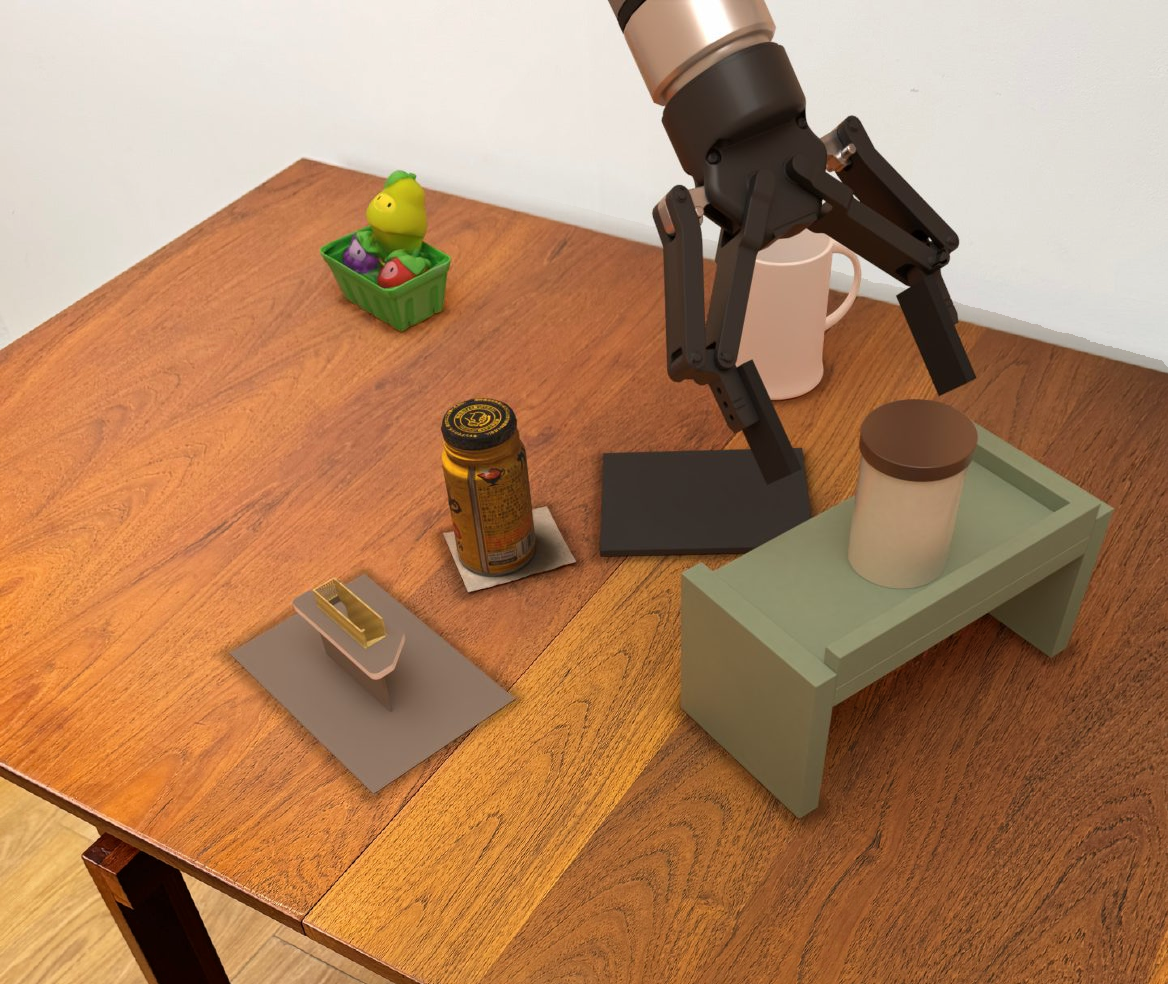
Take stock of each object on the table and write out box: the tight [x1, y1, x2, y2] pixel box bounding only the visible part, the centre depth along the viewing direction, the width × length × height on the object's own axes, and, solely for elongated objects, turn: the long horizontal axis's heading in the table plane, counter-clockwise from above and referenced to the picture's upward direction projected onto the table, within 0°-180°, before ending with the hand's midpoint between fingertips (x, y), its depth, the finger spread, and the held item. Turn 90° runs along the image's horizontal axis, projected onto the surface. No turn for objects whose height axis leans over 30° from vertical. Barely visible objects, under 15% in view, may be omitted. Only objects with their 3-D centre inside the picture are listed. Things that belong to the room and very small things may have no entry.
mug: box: [736, 229, 862, 401], centre depth 104 cm, size 12×8×12 cm
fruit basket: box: [318, 169, 452, 333], centre depth 115 cm, size 11×9×11 cm
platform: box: [228, 573, 516, 795], centre depth 86 cm, size 12×18×7 cm, turn 42°
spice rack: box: [679, 420, 1115, 820], centre depth 80 cm, size 24×12×13 cm, turn 125°
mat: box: [599, 447, 812, 557], centre depth 98 cm, size 16×12×1 cm
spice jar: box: [847, 398, 978, 589], centre depth 73 cm, size 6×6×9 cm
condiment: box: [440, 397, 577, 593], centre depth 91 cm, size 7×8×12 cm
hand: (873, 431), depth 73 cm, fingers open, 13 cm apart
